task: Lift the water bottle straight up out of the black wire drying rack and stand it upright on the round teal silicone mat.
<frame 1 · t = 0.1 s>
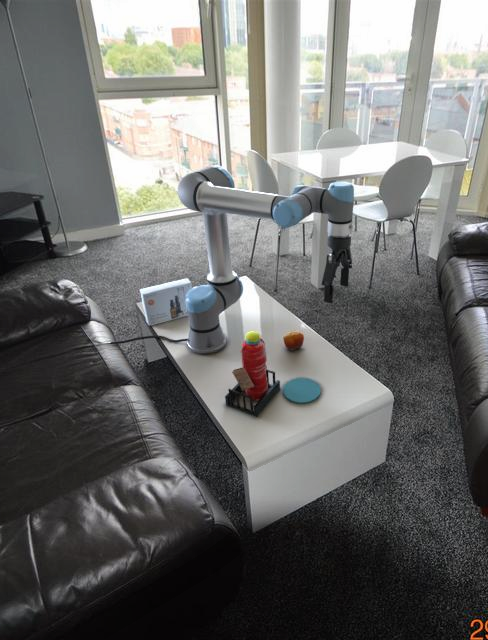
hand: (336, 293, 151), 28 cm above the table, tool pointing down, fingers open, 13 cm apart
fruit: (294, 346, 174), on the table
water bottle: (253, 397, 149), resting in rack
mat: (301, 390, 152), on the table
rack: (253, 397, 149), on the table
skincare box: (171, 318, 194), on the table
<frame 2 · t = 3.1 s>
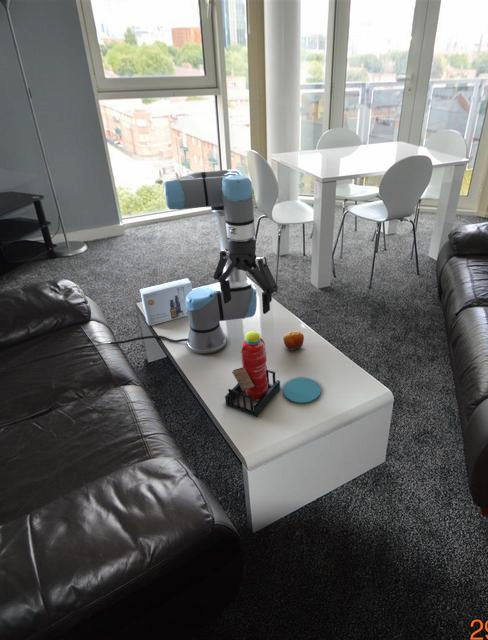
hand: (246, 306, 129), 35 cm above the table, tool pointing down, fingers open, 13 cm apart
nothing on the table moved.
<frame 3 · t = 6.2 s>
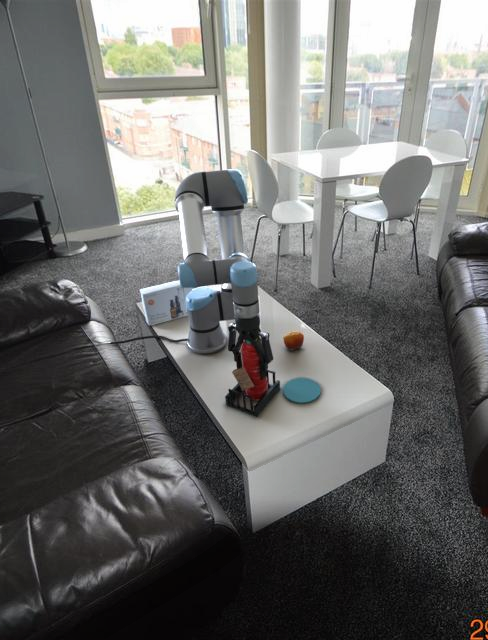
hand: (251, 373, 144), 10 cm above the table, tool pointing down, fingers closed on water bottle, 8 cm apart
water bottle: (253, 397, 149), resting in rack, touching gripper
everything else where it was.
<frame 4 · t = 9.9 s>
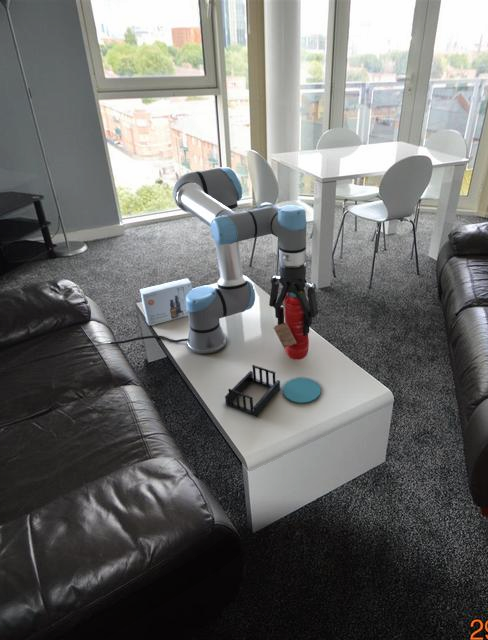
hand: (293, 330, 137), 25 cm above the table, tool pointing down, fingers closed on water bottle, 8 cm apart
water bottle: (293, 357, 143), point 15 cm above the table, touching gripper
everything else where it was.
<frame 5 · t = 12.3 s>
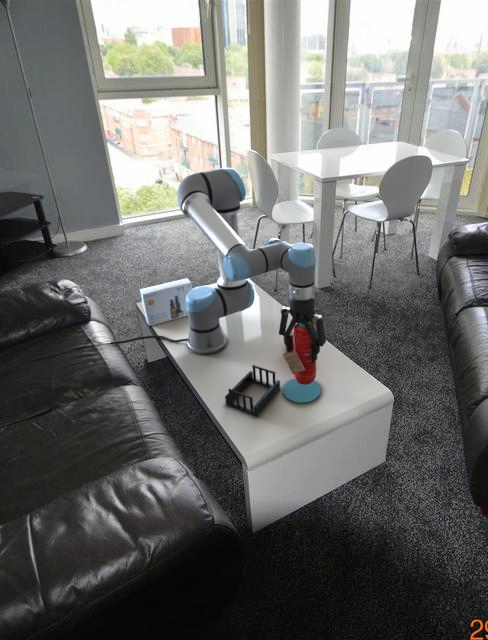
hand: (301, 357, 144), 14 cm above the table, tool pointing down, fingers closed on water bottle, 8 cm apart
water bottle: (301, 382, 149), point 4 cm above the table, touching gripper
everything else where it was.
when the fingers open (11 cm above the table, at t = 13.8 s): water bottle stays where it is, resting on mat.
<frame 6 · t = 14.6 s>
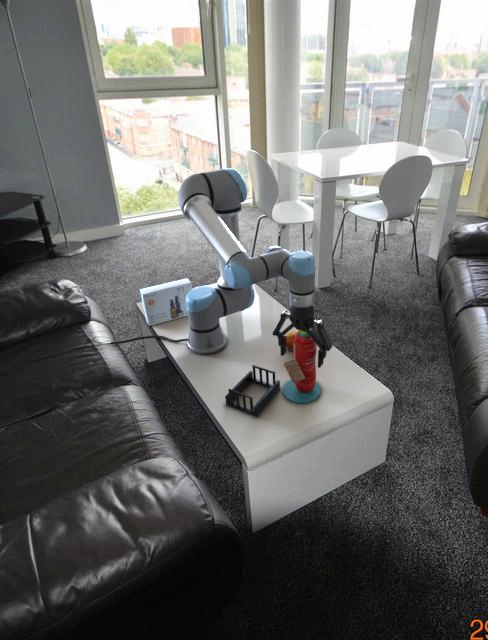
hand: (301, 359, 144), 13 cm above the table, tool pointing down, fingers open, 13 cm apart
water bottle: (301, 390, 151), resting on mat
everything else where it was.
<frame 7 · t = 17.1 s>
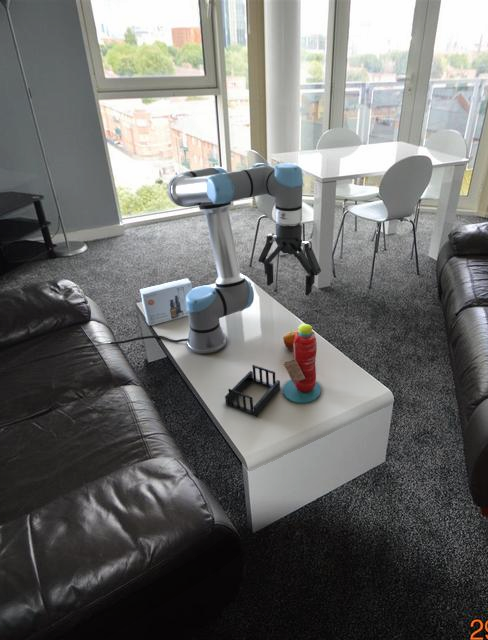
hand: (289, 288, 137), 36 cm above the table, tool pointing down, fingers open, 13 cm apart
nothing on the table moved.
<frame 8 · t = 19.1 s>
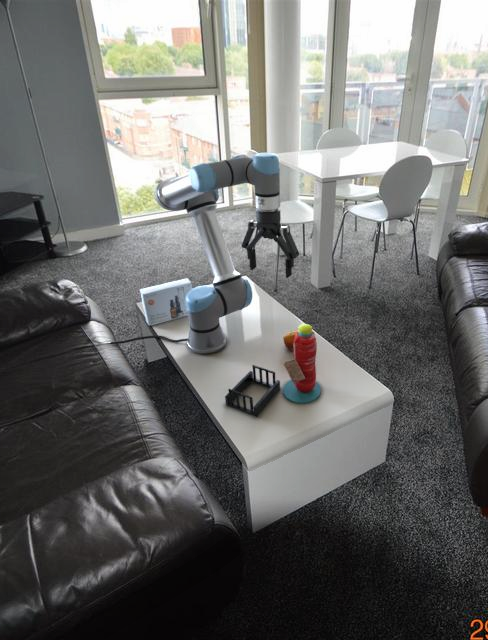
hand: (270, 272, 146), 37 cm above the table, tool pointing down, fingers open, 13 cm apart
nothing on the table moved.
at the end: water bottle inside the target area on the mat (0.0 cm from its centre), point 0.4 cm above the mat's base; water bottle tilted 0°; water bottle touching mat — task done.
